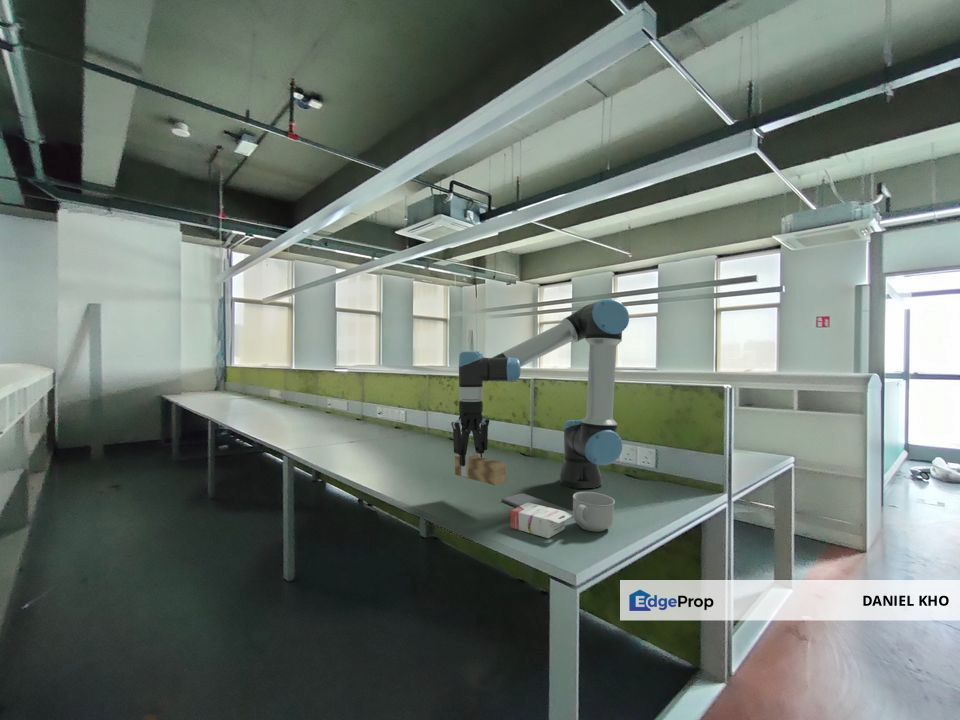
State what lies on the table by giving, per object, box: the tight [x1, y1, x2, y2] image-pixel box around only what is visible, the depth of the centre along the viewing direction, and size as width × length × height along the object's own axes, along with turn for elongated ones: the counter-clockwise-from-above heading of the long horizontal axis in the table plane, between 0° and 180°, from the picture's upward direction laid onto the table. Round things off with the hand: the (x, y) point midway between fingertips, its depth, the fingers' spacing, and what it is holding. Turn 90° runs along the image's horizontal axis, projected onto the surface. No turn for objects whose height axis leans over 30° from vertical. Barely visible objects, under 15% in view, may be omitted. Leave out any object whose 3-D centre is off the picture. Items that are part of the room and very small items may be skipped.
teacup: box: [572, 491, 616, 533], centre depth 110 cm, size 14×11×8 cm
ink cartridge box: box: [509, 503, 574, 539], centre depth 109 cm, size 9×5×15 cm
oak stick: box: [454, 454, 507, 486], centre depth 129 cm, size 20×4×6 cm, turn 38°
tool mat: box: [501, 493, 573, 517], centre depth 127 cm, size 9×22×1 cm, turn 36°
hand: (470, 474), depth 132 cm, fingers closed on oak stick, 4 cm apart
